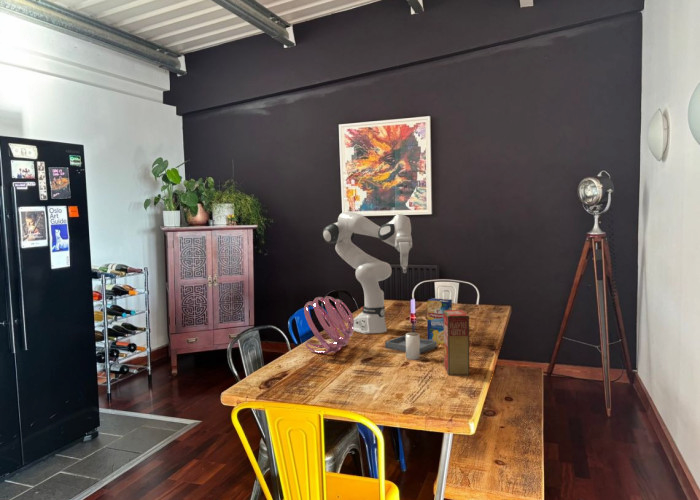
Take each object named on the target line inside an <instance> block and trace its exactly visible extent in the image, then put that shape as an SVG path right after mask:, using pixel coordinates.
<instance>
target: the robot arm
mask: <svg viewBox="0 0 700 500" xmlns="http://www.w3.org/2000/svg"><path fill="white" fill-rule="evenodd" d="M356 234H358V235H363V236H368V237H373V238H377V239H379V240H381V241H382V242H384V243H386V244H387V245H390V246H392V247H393V248H394V249H395V250H397V252H399V256H400V257H399V261H400V268H402V273H403V274H407V271H408V270H407V268H408V266H409V265H408V264H409V263H408V262H409V253H410V251H411V249H412V248H413V238H412V223H411V219H410V217H409V216H407V215H405V214H396V215H395V216H393V218H392V219H391V220H390V221H388V222H386V223H385V224H382V225H381V226H379V225H378V224H376V223H374V222H373V221H372V220H371V219H368V217H366V216H364V215H362V214H360V213H358V212H357V213H356V212H352V211H343V212H341V213H340V214H339V215H338V218H337V222H333V223H330V224H329V225H327V226H325V227H324V229H323V230H322V237H323V239H324V241H325V243H328V244H335V243H336V244H335V247H334V249H335V251H336V253H337V254H338V256H339V257H340V258H341V259H342V260H343V261H345V262H346V263H347V264H348V266H349V265H350V267H352V268H353V269H355V278H356V280H357V281H358V282H359V283H360V285H361V287H362V289H363V295H364V296H363V297H364V298H363V299H364V305H363V306H361V307H360V310H361V313H359V314H358V315H357V316H355V317H353V319H354V326H353V332H357V333H359V334H364V335H365V334H381V333H386V332H387V331H388V329H387V326H386V317H385V314H386V307H385V292H384V290H382V289H381V287H380V285H379V282H381V281H384V280H385V281H386V279H388V278H389V277H391V275H392V266H391V265H390V263H388V262H386V261H382V260H380V259H378V258H376V257H374V256H372V255H370V254H368V253H366V252H365V251H363V250H362V249H361V248H360V247H359V246H357V245H356V244H354V243H353V242H352V241H353V240H354V239H355V235H356Z"/></svg>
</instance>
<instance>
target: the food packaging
mask: <svg viewBox="0 0 700 500" xmlns="http://www.w3.org/2000/svg"><path fill="white" fill-rule="evenodd" d="M443 312H444V344H443V356H444V357H443V367H444V369H445V370H444V371H446V374H447V376H470V316H469V315H468V314H467V313H466V312H465V310H463V309H452V310H444V311H443Z"/></svg>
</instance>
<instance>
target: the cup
mask: <svg viewBox="0 0 700 500" xmlns="http://www.w3.org/2000/svg"><path fill="white" fill-rule="evenodd" d="M405 336H406V352H405V358H406V359H407V360H413V361H414V360H415V361H416V360H419V359H420V358H421V357H420V356H421V354H420V339H421V337H420V336H421V335H420V333H418V332H407V333H405Z"/></svg>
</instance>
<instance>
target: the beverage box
mask: <svg viewBox="0 0 700 500" xmlns="http://www.w3.org/2000/svg"><path fill="white" fill-rule="evenodd" d="M426 303H427V304H426V306H427V312H426V313H427V318H426V319H427V323H426V325H427V327H426V328H427V331H426V332H427V339H426V340H431V341H437V344H438V345H444V312H443V311H444V310H453V300H452V299H448V298H447V299H446V298H435V297H433V298H430V299H428V300H427V301H426Z"/></svg>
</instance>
